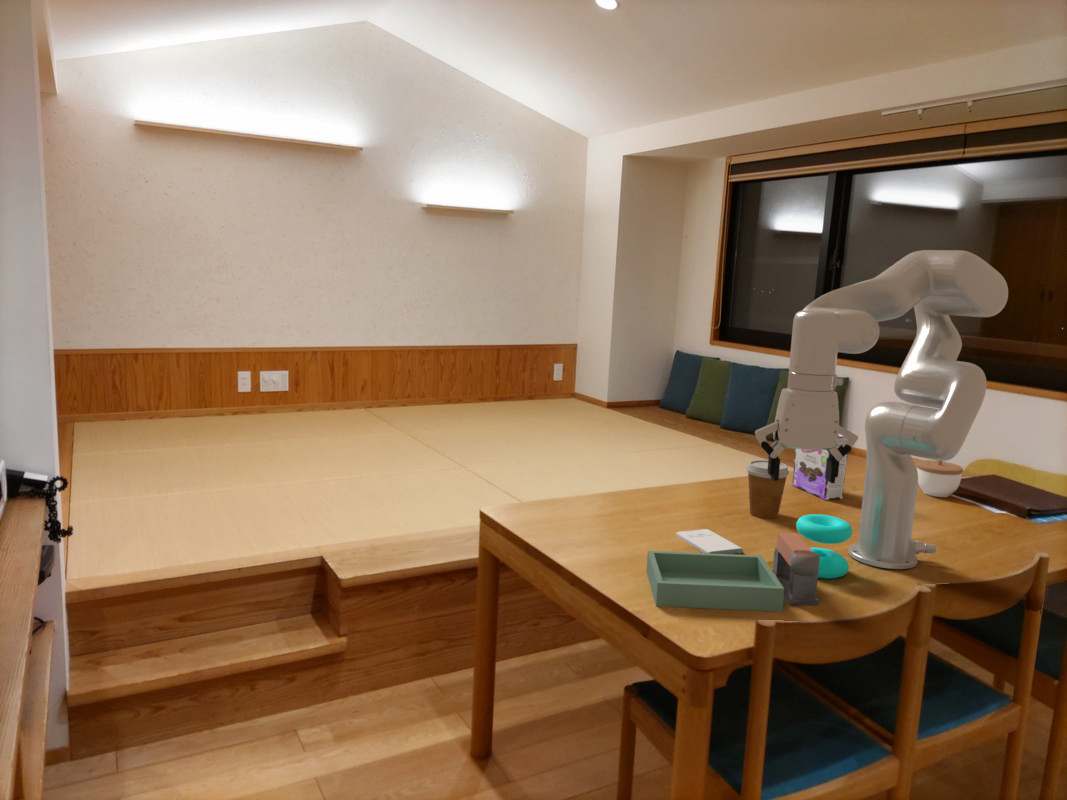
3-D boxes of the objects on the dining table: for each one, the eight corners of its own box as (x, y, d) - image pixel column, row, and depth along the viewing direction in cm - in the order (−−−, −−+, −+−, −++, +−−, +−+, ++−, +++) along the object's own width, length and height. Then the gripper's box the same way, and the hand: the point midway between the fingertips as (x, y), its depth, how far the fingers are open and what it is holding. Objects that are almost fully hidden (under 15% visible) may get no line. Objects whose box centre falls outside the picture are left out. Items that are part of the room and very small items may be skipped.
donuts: (862, 521, 148) (838, 533, 141) (856, 571, 149) (833, 585, 142) (811, 509, 154) (787, 519, 148) (807, 557, 156) (782, 569, 149)
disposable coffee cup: (780, 509, 187) (784, 460, 185) (789, 522, 178) (793, 470, 176) (739, 506, 188) (743, 458, 186) (746, 519, 179) (750, 468, 177)
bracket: (769, 575, 146) (771, 547, 145) (796, 576, 146) (798, 548, 145) (789, 604, 133) (791, 574, 132) (818, 606, 133) (821, 575, 132)
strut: (773, 548, 145) (774, 532, 144) (798, 549, 145) (799, 533, 144) (794, 576, 132) (796, 559, 131) (822, 577, 131) (823, 560, 131)
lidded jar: (917, 497, 201) (921, 461, 200) (910, 486, 211) (914, 452, 210) (963, 501, 198) (968, 466, 197) (954, 490, 208) (958, 456, 207)
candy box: (791, 485, 209) (796, 425, 206) (809, 484, 210) (815, 424, 207) (824, 500, 196) (830, 436, 193) (844, 499, 197) (850, 435, 195)
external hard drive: (708, 559, 154) (675, 538, 166) (742, 555, 157) (708, 535, 169) (708, 551, 154) (675, 531, 166) (743, 547, 157) (708, 527, 169)
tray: (759, 576, 145) (761, 555, 144) (782, 611, 130) (784, 588, 130) (646, 571, 146) (647, 550, 145) (656, 606, 131) (657, 582, 130)
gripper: (854, 381, 137) (844, 476, 140) (754, 378, 137) (747, 472, 140) (870, 388, 129) (859, 488, 132) (765, 384, 130) (757, 483, 133)
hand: (801, 479), depth 136 cm, fingers open, 9 cm apart
